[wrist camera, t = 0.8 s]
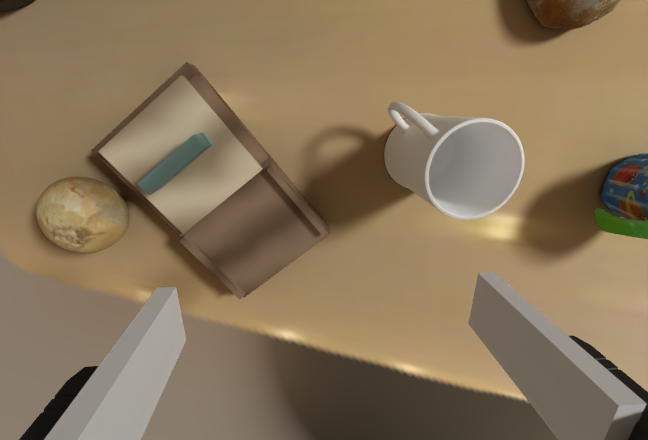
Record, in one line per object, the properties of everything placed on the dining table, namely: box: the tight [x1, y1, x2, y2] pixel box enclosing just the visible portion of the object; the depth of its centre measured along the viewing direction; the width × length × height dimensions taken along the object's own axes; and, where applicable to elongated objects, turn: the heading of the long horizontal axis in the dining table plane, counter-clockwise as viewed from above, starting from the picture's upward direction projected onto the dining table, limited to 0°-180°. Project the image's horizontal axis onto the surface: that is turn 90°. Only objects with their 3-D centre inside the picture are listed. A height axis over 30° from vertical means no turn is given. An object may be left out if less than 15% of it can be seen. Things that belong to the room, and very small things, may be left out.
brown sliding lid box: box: [91, 62, 330, 299], centre depth 34 cm, size 22×13×4 cm, turn 38°
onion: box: [36, 177, 129, 253], centre depth 32 cm, size 8×8×7 cm
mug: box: [384, 102, 524, 220], centre depth 30 cm, size 12×8×12 cm
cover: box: [98, 76, 263, 234], centre depth 30 cm, size 11×11×4 cm
